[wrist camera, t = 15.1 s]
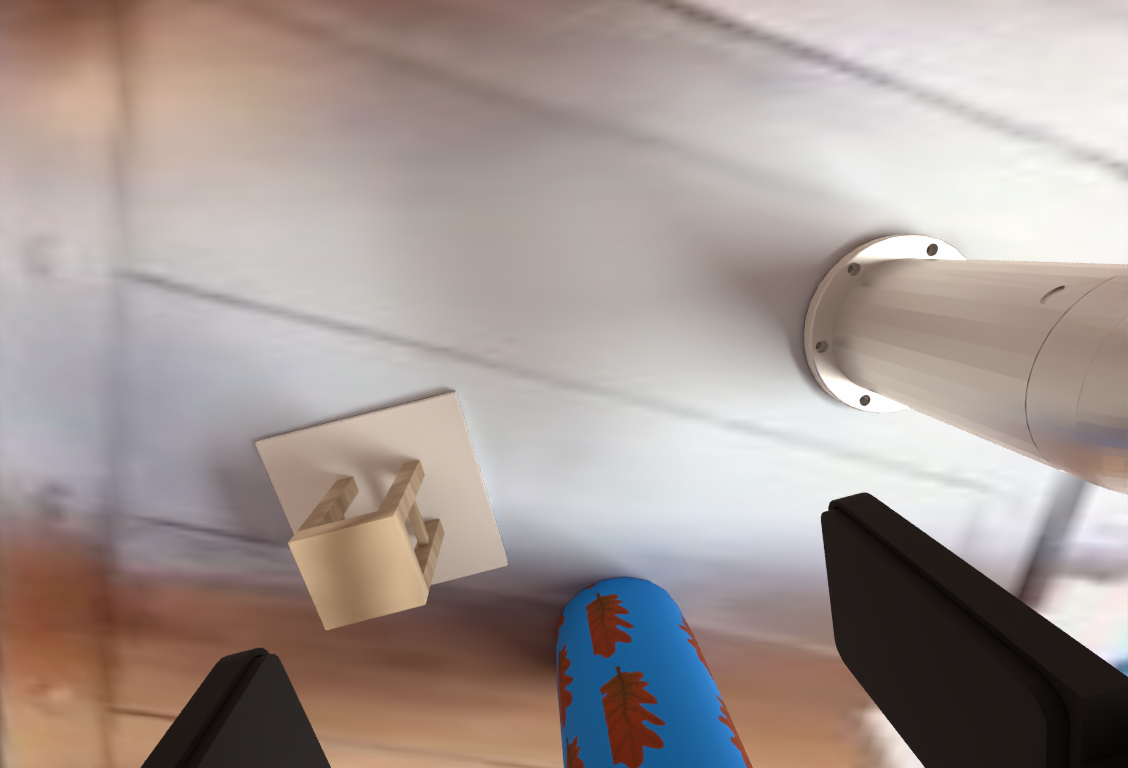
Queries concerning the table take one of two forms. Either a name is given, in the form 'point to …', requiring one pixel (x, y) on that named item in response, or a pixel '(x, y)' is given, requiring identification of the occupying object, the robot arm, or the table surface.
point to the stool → (367, 552)
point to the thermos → (638, 684)
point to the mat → (375, 459)
